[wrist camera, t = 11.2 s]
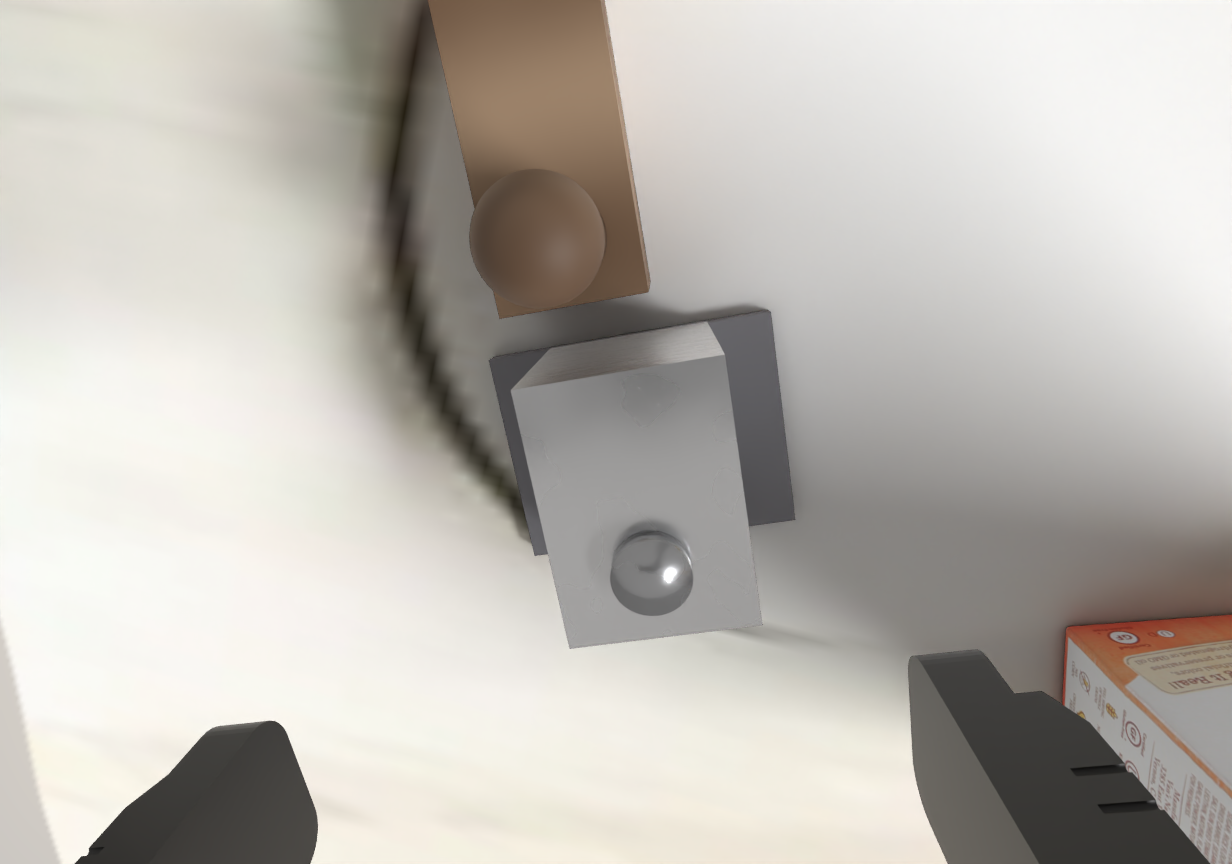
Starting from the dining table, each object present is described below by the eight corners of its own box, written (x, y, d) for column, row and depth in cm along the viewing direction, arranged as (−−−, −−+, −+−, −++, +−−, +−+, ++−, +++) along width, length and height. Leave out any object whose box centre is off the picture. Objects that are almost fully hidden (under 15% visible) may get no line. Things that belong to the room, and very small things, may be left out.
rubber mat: (493, 356, 22) (488, 360, 22) (767, 309, 21) (770, 311, 21) (537, 548, 24) (534, 555, 24) (791, 512, 23) (795, 519, 23)
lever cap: (550, 348, 22) (505, 395, 15) (706, 321, 21) (727, 359, 15) (591, 546, 23) (566, 663, 17) (736, 526, 23) (766, 638, 17)
